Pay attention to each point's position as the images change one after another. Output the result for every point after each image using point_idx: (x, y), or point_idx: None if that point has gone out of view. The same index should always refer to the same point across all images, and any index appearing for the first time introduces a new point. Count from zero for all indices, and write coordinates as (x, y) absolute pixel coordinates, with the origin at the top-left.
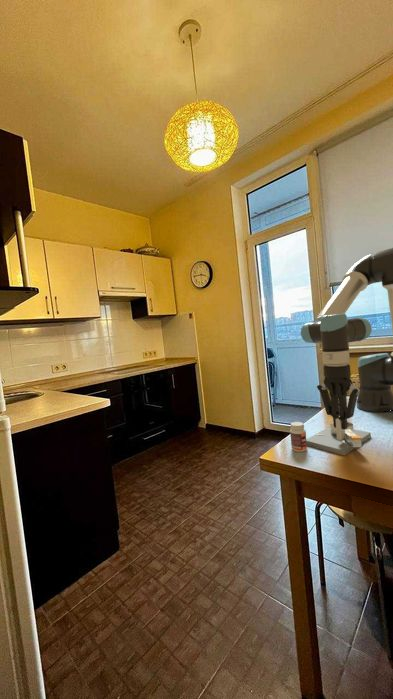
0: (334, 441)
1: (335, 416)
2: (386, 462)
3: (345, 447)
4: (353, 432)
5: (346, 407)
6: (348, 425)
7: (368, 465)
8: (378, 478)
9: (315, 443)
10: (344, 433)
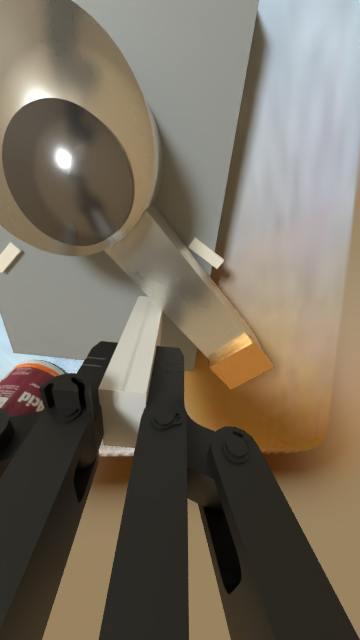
0: (119, 307)
1: (95, 464)
2: (334, 342)
3: (188, 345)
4: (204, 284)
5: (186, 591)
6: (132, 192)
7: (278, 383)
8: (307, 427)
9: (68, 357)
10: (161, 319)
